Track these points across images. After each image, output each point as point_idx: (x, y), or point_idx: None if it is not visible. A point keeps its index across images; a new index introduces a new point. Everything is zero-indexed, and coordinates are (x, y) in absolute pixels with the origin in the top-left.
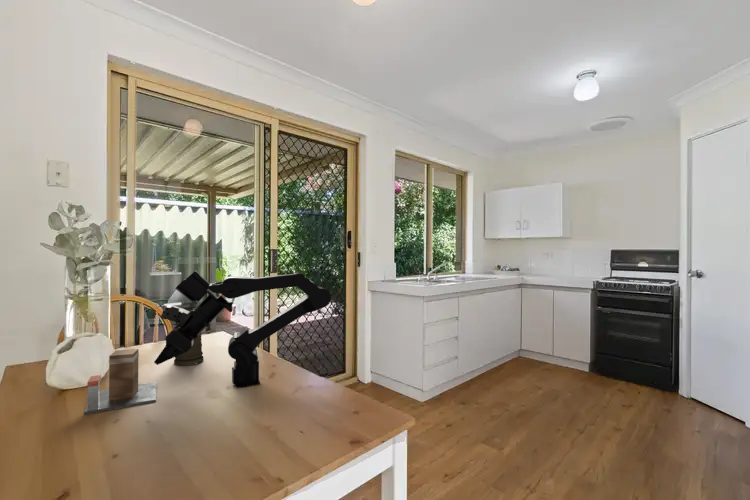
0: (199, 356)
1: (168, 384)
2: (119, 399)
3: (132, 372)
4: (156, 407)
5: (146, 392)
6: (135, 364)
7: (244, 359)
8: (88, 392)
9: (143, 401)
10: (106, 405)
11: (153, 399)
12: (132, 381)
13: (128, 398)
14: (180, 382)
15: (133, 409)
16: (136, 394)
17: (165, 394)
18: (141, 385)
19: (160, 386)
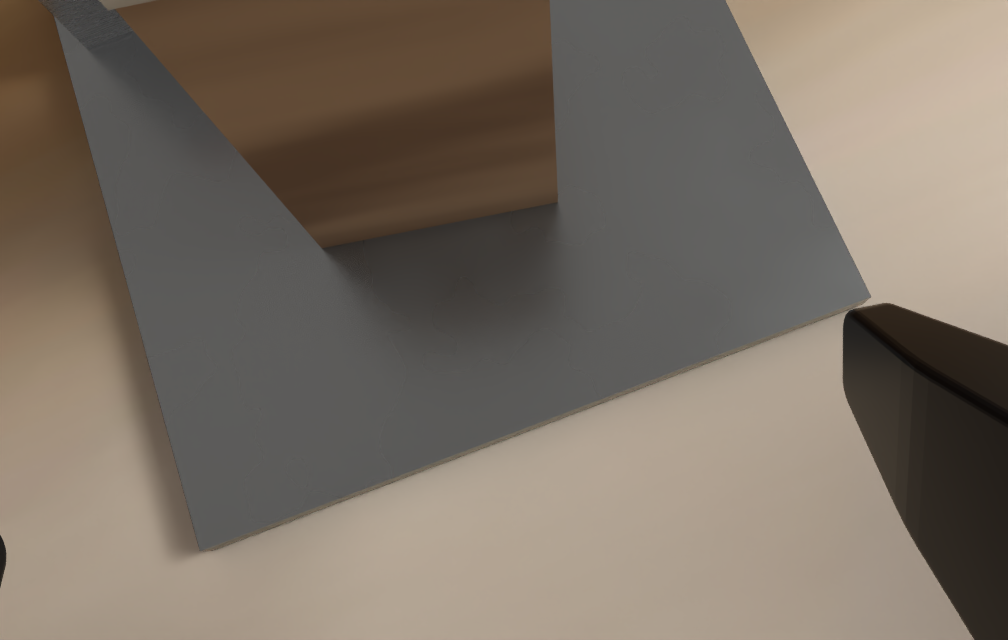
0: None
1: (824, 474)
2: None
3: (198, 103)
4: (41, 627)
5: (467, 334)
6: (335, 25)
7: None
8: None
9: (169, 426)
10: (156, 81)
11: (204, 522)
12: (252, 167)
13: None
14: (895, 624)
15: (56, 385)
16: (416, 244)
17: (443, 578)
18: (735, 162)
19: (754, 394)
